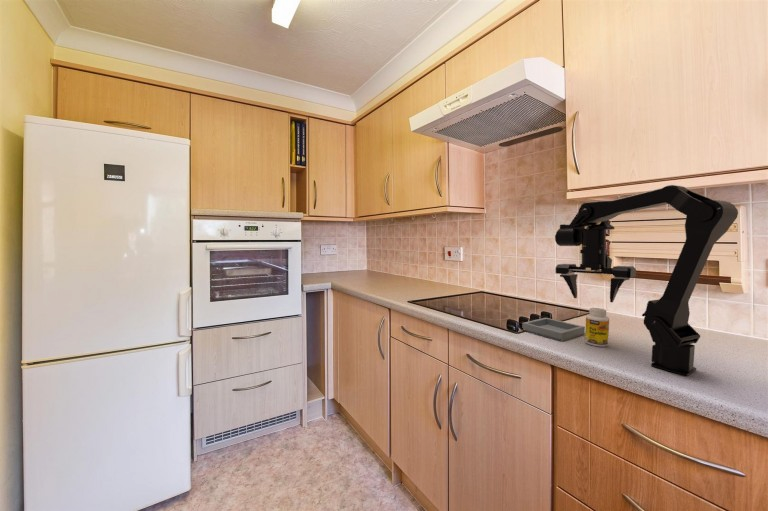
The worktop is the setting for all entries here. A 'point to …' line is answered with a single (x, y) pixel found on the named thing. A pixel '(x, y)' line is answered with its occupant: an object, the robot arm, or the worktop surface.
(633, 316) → the worktop surface
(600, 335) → the supplement bottle
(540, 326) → the tray
